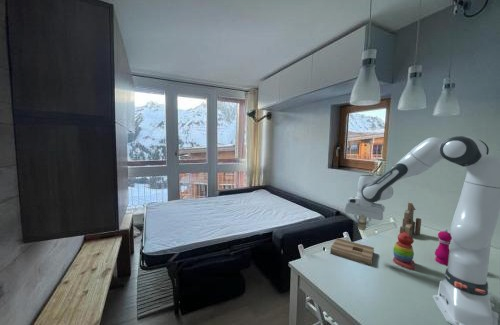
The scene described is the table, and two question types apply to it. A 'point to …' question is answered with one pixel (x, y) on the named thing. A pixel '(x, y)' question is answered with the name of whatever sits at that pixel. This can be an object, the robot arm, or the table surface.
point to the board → (353, 251)
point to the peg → (362, 222)
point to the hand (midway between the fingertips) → (362, 223)
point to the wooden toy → (410, 222)
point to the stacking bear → (404, 251)
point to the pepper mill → (443, 247)
